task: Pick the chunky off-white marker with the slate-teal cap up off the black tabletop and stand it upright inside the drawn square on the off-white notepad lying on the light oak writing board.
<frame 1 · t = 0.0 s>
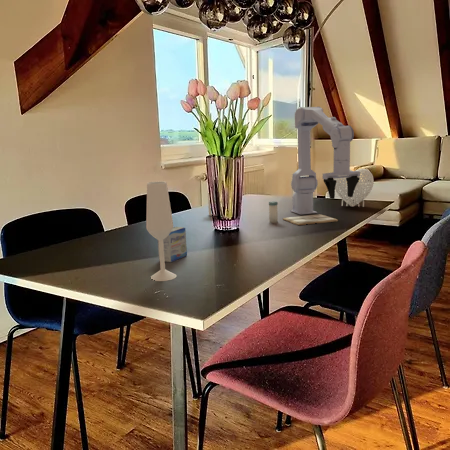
hand: (341, 197, 166), 10 cm above the table, tool pointing down, fingers open, 7 cm apart
decorative heart: (352, 206, 204), on the table
champagne flute: (163, 277, 115), on the table
can: (216, 215, 197), on the table
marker: (273, 222, 176), on the table
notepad: (309, 220, 177), on the table
medicine box: (173, 259, 131), on the table
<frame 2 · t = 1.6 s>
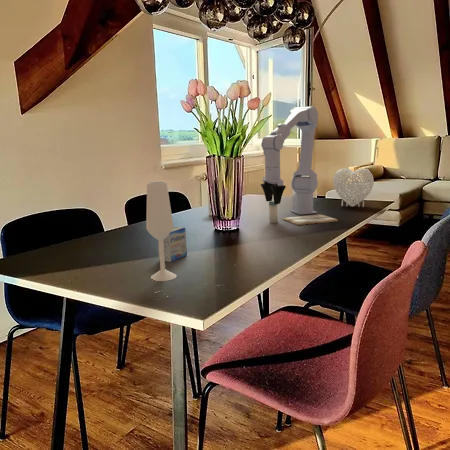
hand: (273, 202, 175), 8 cm above the table, tool pointing down, fingers open, 7 cm apart
nothing on the table moved.
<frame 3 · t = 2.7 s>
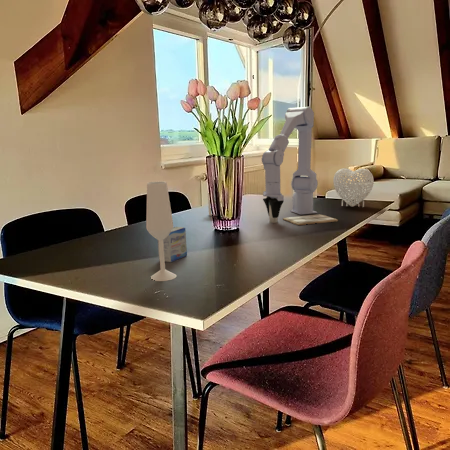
hand: (273, 216, 176), 2 cm above the table, tool pointing down, fingers closed on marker, 3 cm apart
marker: (273, 222, 176), on the table, touching gripper
everything else where it was.
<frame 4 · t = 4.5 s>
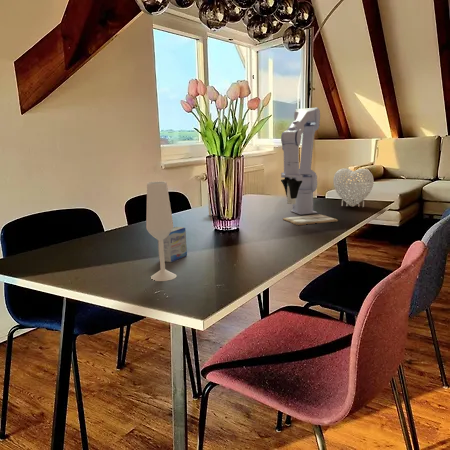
hand: (291, 197, 175), 9 cm above the table, tool pointing down, fingers closed on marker, 3 cm apart
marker: (291, 203, 176), point 7 cm above the table, touching gripper
everything else where it was.
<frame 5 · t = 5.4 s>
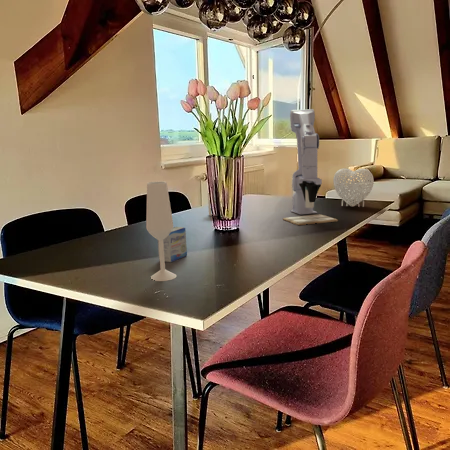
hand: (309, 201, 176), 8 cm above the table, tool pointing down, fingers closed on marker, 3 cm apart
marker: (309, 207, 176), point 5 cm above the table, touching gripper
everything else where it was.
when the fingers open (4 cm above the table, at t = 6.3 s): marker stays where it is, resting on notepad.
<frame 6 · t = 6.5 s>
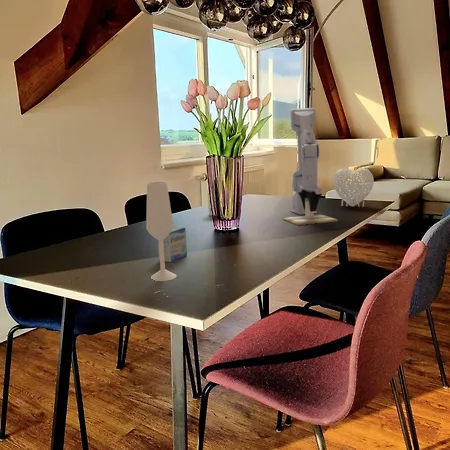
hand: (309, 210, 177), 4 cm above the table, tool pointing down, fingers open, 5 cm apart
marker: (309, 218, 177), point 1 cm above the table, touching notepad
everything else where it was.
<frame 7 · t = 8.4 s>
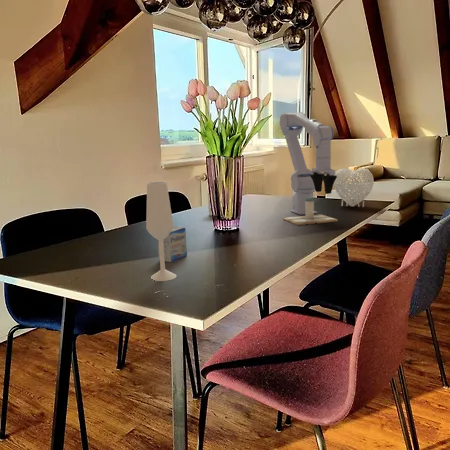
hand: (323, 192, 178), 10 cm above the table, tool pointing down, fingers open, 7 cm apart
nothing on the table moved.
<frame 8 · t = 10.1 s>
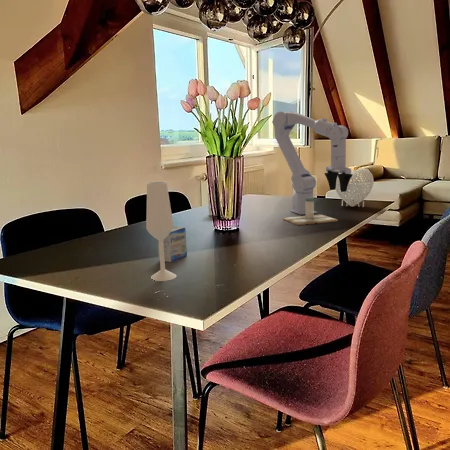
hand: (337, 190, 182), 10 cm above the table, tool pointing down, fingers open, 7 cm apart
nothing on the table moved.
at the end: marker 0.1 cm off-centre on the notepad, point 0.8 cm above the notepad's base; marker tilted 0°; the gripper is holding nothing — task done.
